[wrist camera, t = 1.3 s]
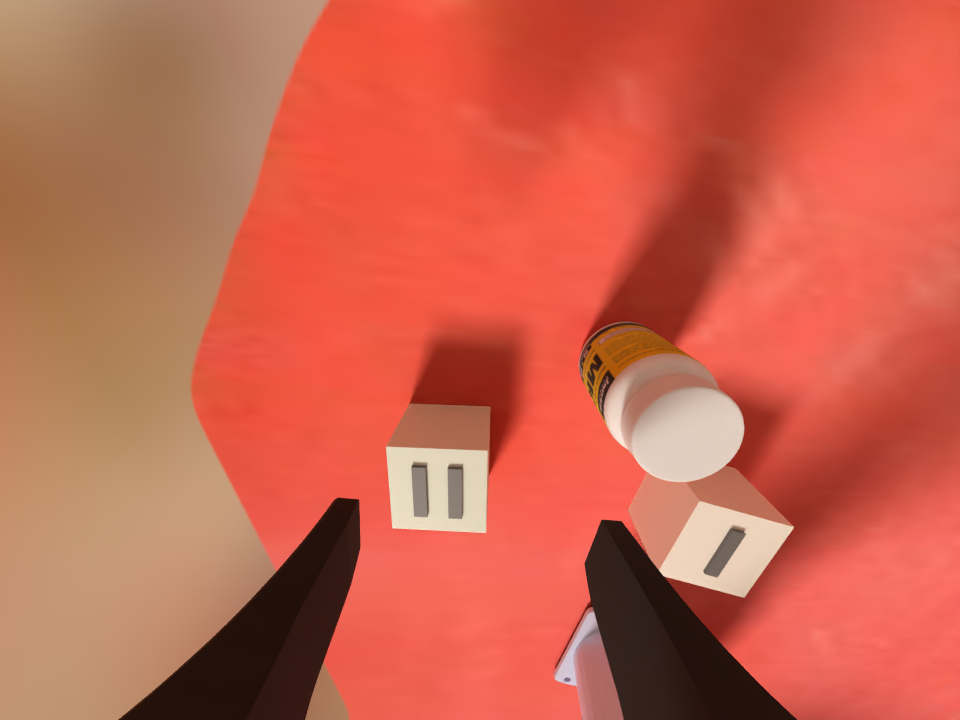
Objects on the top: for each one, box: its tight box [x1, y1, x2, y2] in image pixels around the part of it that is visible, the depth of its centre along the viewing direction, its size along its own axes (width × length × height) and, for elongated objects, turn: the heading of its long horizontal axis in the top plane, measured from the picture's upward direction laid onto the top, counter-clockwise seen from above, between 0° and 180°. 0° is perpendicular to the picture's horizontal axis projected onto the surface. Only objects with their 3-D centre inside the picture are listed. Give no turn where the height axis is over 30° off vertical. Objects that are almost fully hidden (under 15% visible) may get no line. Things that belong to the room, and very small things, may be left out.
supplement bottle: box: [579, 322, 744, 482], centre depth 17 cm, size 5×5×8 cm
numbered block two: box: [386, 403, 491, 533], centre depth 21 cm, size 5×5×5 cm
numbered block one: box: [628, 465, 794, 598], centre depth 22 cm, size 5×5×5 cm
